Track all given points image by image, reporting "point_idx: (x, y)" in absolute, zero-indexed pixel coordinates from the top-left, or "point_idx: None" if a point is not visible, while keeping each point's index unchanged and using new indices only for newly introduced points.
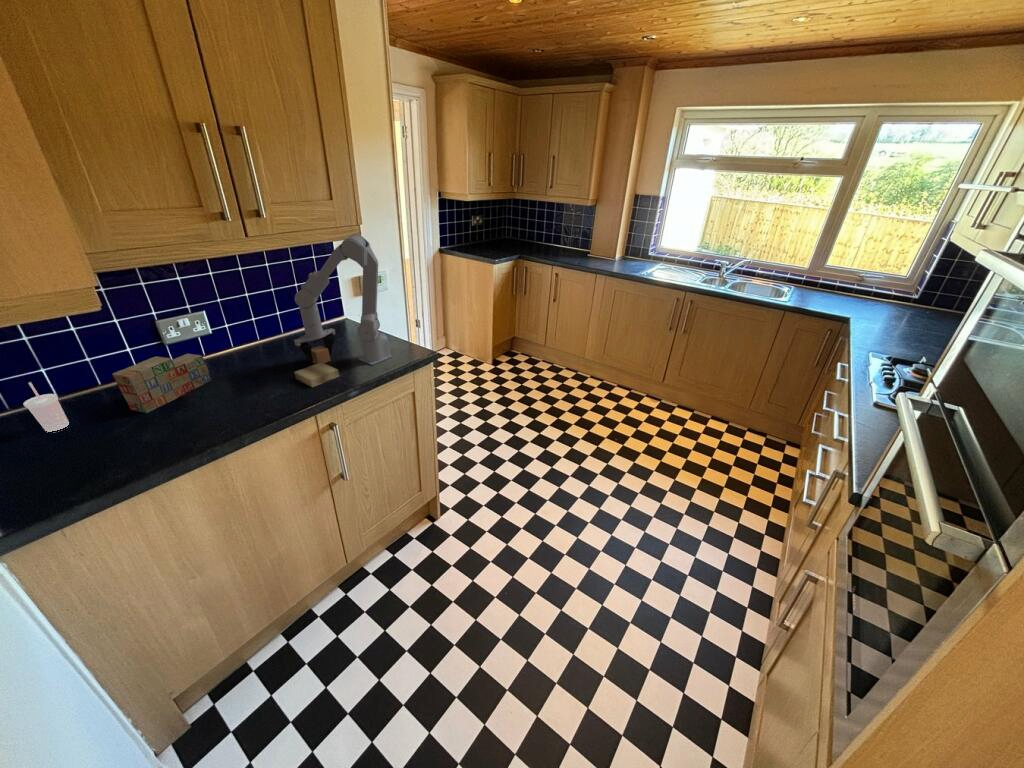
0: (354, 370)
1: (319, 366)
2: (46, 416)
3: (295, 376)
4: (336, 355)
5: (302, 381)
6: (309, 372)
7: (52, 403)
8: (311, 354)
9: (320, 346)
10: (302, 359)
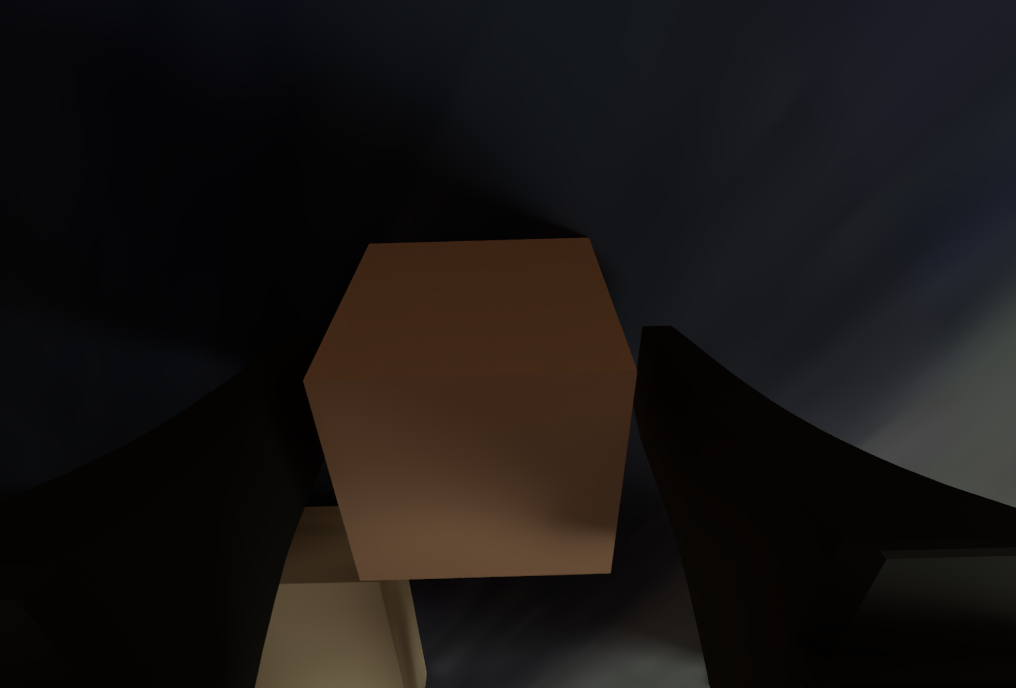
0: (573, 671)
1: (308, 641)
2: None
3: None
4: (751, 323)
5: None
6: None
7: None
8: (290, 534)
9: (594, 416)
10: (277, 10)
